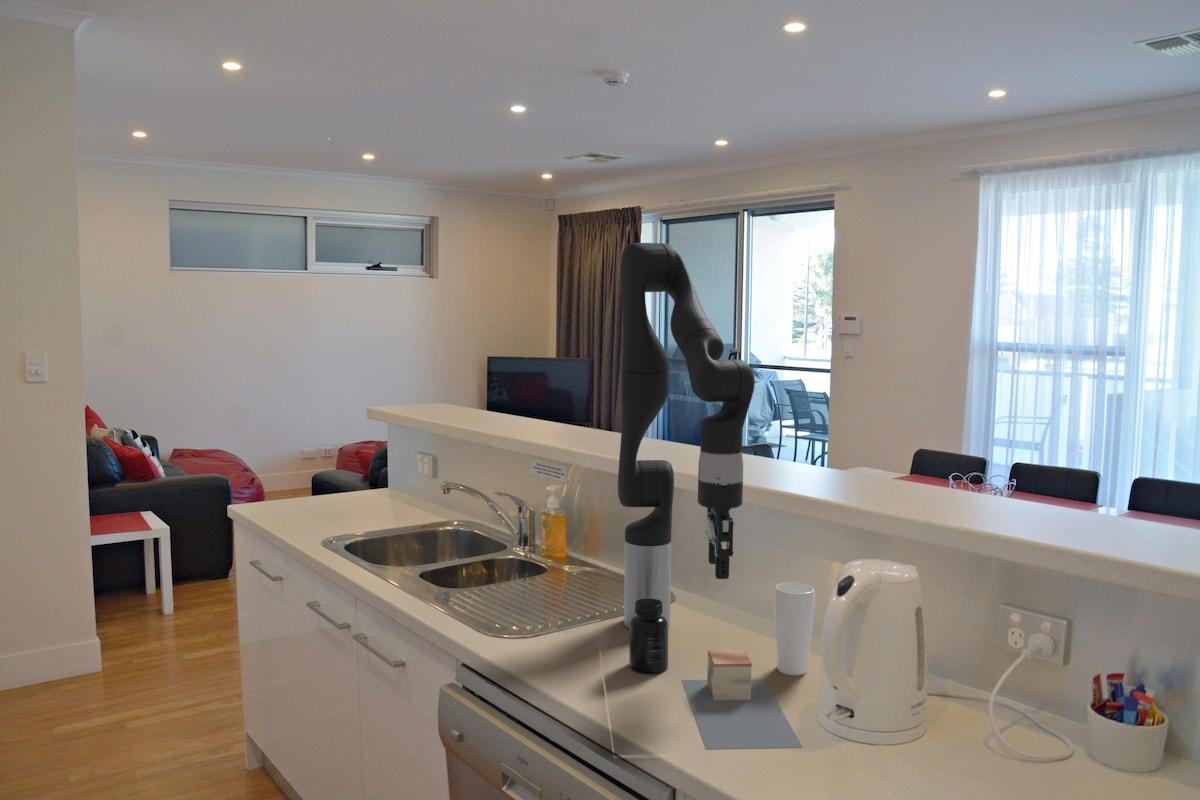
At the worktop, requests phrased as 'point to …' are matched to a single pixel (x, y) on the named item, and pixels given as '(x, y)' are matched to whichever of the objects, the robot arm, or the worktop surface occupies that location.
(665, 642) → the supplement bottle
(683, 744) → the worktop surface
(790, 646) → the drinking glass
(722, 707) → the slate mat
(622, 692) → the worktop surface
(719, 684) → the birch cube
